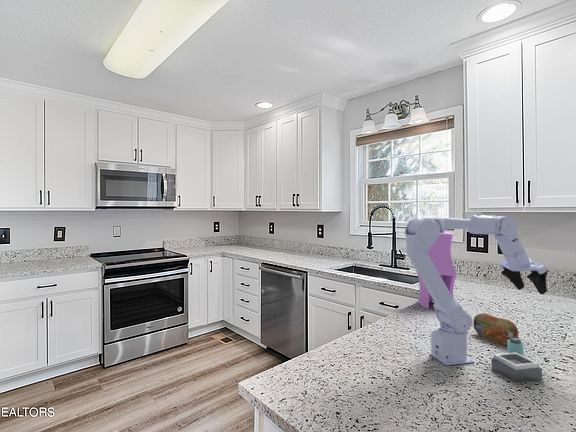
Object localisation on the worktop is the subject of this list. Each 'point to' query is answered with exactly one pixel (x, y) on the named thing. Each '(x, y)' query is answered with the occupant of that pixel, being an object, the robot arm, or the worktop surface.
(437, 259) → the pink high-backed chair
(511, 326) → the tin
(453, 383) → the worktop surface
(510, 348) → the teal capped cylinder
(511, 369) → the grey flat square block
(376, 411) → the worktop surface
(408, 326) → the worktop surface
